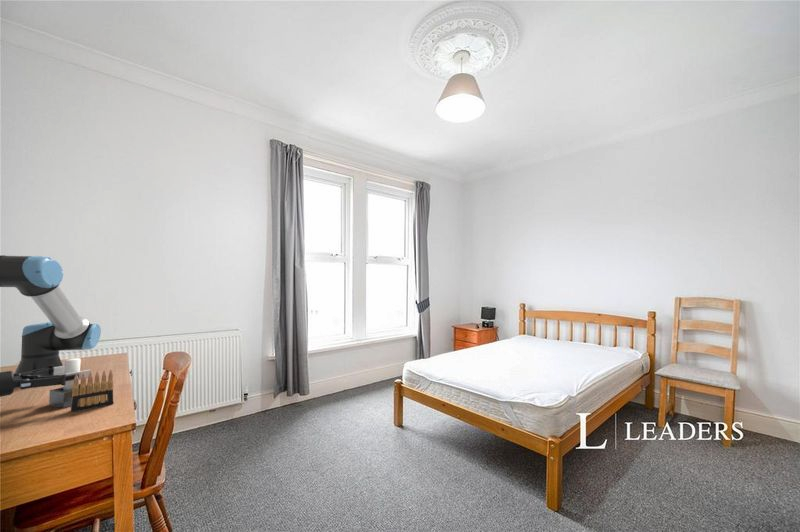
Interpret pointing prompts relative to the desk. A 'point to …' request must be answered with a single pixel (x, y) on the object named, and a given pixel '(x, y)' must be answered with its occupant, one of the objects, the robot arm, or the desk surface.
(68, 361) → the cylinder
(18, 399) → the desk surface
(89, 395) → the ammunition clip
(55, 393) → the square open box
